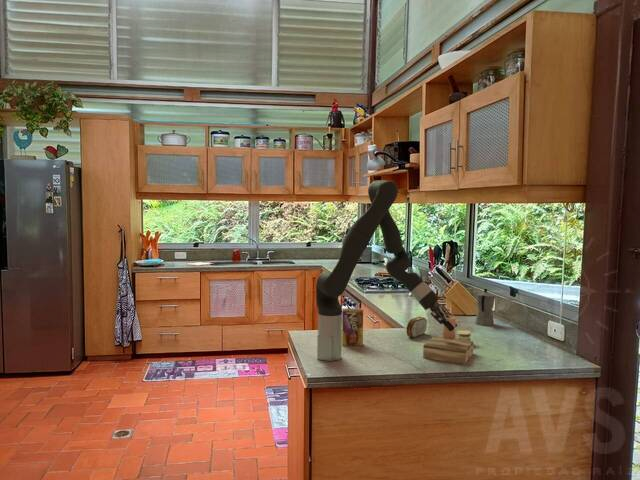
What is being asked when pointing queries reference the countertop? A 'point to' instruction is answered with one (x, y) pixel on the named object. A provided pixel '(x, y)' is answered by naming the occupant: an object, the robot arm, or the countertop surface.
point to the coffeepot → (485, 308)
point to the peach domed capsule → (446, 333)
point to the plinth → (448, 349)
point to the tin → (416, 327)
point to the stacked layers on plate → (464, 335)
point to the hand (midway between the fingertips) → (454, 328)
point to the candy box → (352, 326)
